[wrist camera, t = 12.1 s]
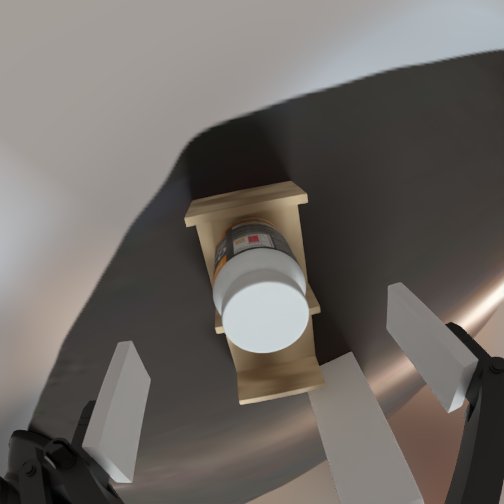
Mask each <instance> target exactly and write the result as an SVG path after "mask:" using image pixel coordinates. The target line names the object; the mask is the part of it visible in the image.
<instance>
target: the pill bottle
mask: <svg viewBox="0 0 504 504" xmlns="http://www.w3.org/2000/svg"><path fill="white" fill-rule="evenodd" d="M305 293H306V282H305V277H304V273H303V271H302V269H301V267H300V265H299V263H298V262H297V260H296V258H295V256H294V254H293V252H292V251H291V249H290V247H289V245H288V243H287V241H286V239H285V237H284V236H283V234H282V233H281V231H280V230H279V229H278V228H277V227H276V226H275V225H273V224H272V223H270V222H269V221H266V220H264V219H260V218H244V219H240V220H238V221H235V222H233V223H232V224H230V225H229V226H228V227H226V228H225V230H224V231H223V232H222V233H221V235H220V236H219V238H218V240H217V243H216V247H215V258H214V277H213V300H214V303H215V306H216V308H217V310H218V312H219V314H220V315H221V318H222V326H223V329H224V332H225V334H226V335H227V337H228V338H229V339H230V340H231V341H232V342H233V343H234V344H235V345H237V346H238V347H240V348H242V349H244V350H247V351H250V352H256V353H270V352H274V351H278V350H281V349H283V348H285V347H287V346H289V345H291V344H292V343H293V342H295V341H296V340H297V339H298V338H299V337H300V336H301V334H302V333H303V332H304V330H305V328H306V326H307V323H308V319H309V307H308V303H307V300H306V298H305Z"/></svg>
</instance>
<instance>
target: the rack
mask: <svg viewBox="0 0 504 504" xmlns="http://www.w3.org/2000/svg"><path fill="white" fill-rule="evenodd" d="M303 203H308V198H307V193H305V192H304V191H303V190H302V189H301V188H299V187H298V186H297V185H296V184H294V183H293V182H292V181H286V182H281V183H275V184H270V185H265V186H259V187H254V188H249V189H244V190H239V191H234V192H229V193H225V194H220V195H215V196H211V197H206V198H201V199H197V200H192V202H191V204H190V207H189V209H188V211H187V213H186V216H185V218H184V219H185V223H186V227H189V226H194V225H196V227H197V231H198V235H199V239H200V243H201V247H202V251H203V255H204V258H205V262H206V266H207V270H208V273H209V277H210V281H211V284H212V288H213V277H214V258H215V247H216V243H217V240H218V238H219V236H220V235H221V233H222V232H223V231H224V230H225V228H226V227H228V226H229V225H230V224H232V223H233V222H235V221H238V220H240V219H244V218H260V219H264V220H266V221H269V222H270V223H272V224H273V225H275V226H276V227H277V228H278V229H279V230H280V231H281V233H282V234H283V236H284V237H285V239H286V241H287V243H288V245H289V247H290V249H291V251H292V252H293V254H294V256H295V258H296V260H297V262H298V263H299V265H300V267H301V269H302V271H303V273H304V277H305V282H306V293H305V298H306V300H307V303H308V307H309V319H308V323H307V326H306V328H305V330H304V332H303V333H302V334H301V336H300V337H299V338H298V339H297V340H296V341H295V342H293V343H292V344H291V345H289V346H287V347H285V348H283V349H281V350H278V351H274V352H270V353H256V352H250V351H247V350H244V349H242V348H240V347H238V346H237V345H235V344H234V343H233V342H232V341H231V340H230V339H229V338H228V337H227V335H226V337H227V341H228V344H229V347H230V351H231V354H232V357H233V361H234V364H235V367H236V370H237V380H238V395H239V402H240V405H242V404H248V403H254V402H259V401H265V400H270V399H275V398H280V397H285V396H290V395H294V394H299V393H303V392H307V391H312V390H316V389H320V388H324V387H326V383H325V380H324V377H323V375H322V372H321V369H320V367H319V364H318V361H317V359H316V356H315V346H314V336H313V326H312V316H311V315H312V314H317V313H320V305H319V303H318V301H317V299H316V297H315V295H314V293H313V291H312V289H311V288H310V286H309V284H308V281H307V272H306V264H305V256H304V249H303V241H302V234H301V226H300V219H299V212H298V206H297V204H303ZM215 329H216V332H217V334H219V333H225V332H224V329H223V326H222V318H221V315H220V314H219V312H218V310H217V308H216V316H215Z"/></svg>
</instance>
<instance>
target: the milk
mask: <svg viewBox="0 0 504 504" xmlns="http://www.w3.org/2000/svg"><path fill="white" fill-rule="evenodd" d="M319 367H320V369H321V372H322V375H323V377H324V380H325V383H326V387H324V388H320V389H316V390H312V391H307V392H308V395H309V399H310V402H311V405H312V409H313V412H314V416H315V419H316V422H317V426H318V429H319V432H320V436H321V439H322V443H323V446H324V449H325V453H326V456H327V460H328V463H329V467H330V470H331V474H332V477H333V480H334V483H335V487H336V491H337V494H338V498H339V501H340V504H424V501H423V498H422V495H421V493H420V491H419V489H418V486H417V484H416V482H415V480H414V478H413V475H412V473H411V471H410V469H409V467H408V464H407V462H406V460H405V458H404V456H403V454H402V451H401V449H400V447H399V445H398V443H397V441H396V439H395V437H394V435H393V433H392V431H391V428H390V426H389V424H388V422H387V420H386V418H385V416H384V414H383V412H382V410H381V408H380V406H379V404H378V402H377V400H376V398H375V396H374V394H373V392H372V390H371V388H370V386H369V384H368V382H367V380H366V378H365V376H364V374H363V372H362V370H361V368H360V366H359V364H358V362H357V361H356V359H355V357H354V355H353V353H352V352H349V353H347V354H344V355H342V356H340V357H338V358H336V359H334V360H332V361H330V362H327V363H325V364H323V365H321V366H319Z"/></svg>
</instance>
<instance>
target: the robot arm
mask: <svg viewBox="0 0 504 504" xmlns="http://www.w3.org/2000/svg"><path fill="white" fill-rule="evenodd" d="M386 329H387V330H388V332H389V333H390V334H391V336H392V337H393V338H394V340H395V341H396V342H397V344H398V345H399V346H400V348H401V349H402V350H403V352H404V353H405V354H406V356H407V357H408V358H409V360H410V361H411V362H412V364H413V365H414V366H415V368H416V369H417V370H418V372H419V373H420V375H421V376H422V377H423V379H424V380H425V382H426V383H427V384H428V386H429V387H430V389H431V390H432V391H433V393H434V394H435V396H436V397H437V398H438V400H439V401H440V403H441V404H442V406H443V407H444V408H445V410H446V411H447V413H449V412H451V411H453V410H455V409H457V408H459V407H461V406H462V404H463V402H464V399H465V397H466V398H467V400H468V401H469V402H470V403H469V405H468V407H467V410H466V412H465V414H464V417H463V418H465V417H466V420H465V426H464V431H463V437H462V441H461V446H460V450H459V454H458V459H457V463H456V467H455V471H454V474H453V478H452V481H451V485H450V488H449V491H448V494H447V497H446V501H445V504H499V500H500V495H501V491H502V486H503V480H504V359H503V358H501V357H491V356H490V355H489V354H488V353H487V352H486V351H485V350H484V349H483V348H482V347H481V346H480V345H479V344H478V343H477V342H476V341H475V340H474V339H472V337H471V336H470V335H469V334H467V332H466V331H465V330H464V329H463V328H462V327H461V326H459V325H457V324H454V323H452V322H450V323H447V324H444V323H443V322H442V321H441V320H440V319H439V318H438V317H437V316H436V315H435V314H434V313H433V312H431V311H430V310H429V309H428V308H427V307H426V306H425V305H424V304H423V303H422V302H421V301H420V300H419V299H418V298H417V297H416V296H415V295H414V294H413V293H412V292H411V291H410V290H409V289H408V288H406V287H405V286H404V285H403V284H402V283H401V282H400V283H396V284H393V285H389V286H388V307H387V327H386ZM150 381H151V379H150V377H149V375H148V373H147V371H146V369H145V367H144V365H143V363H142V361H141V359H140V357H139V355H138V353H137V351H136V349H135V347H134V345H133V343H132V341H126V342H119V343H118V345H117V347H116V350H115V353H114V355H113V358H112V360H111V363H110V366H109V368H108V371H107V373H106V376H105V379H104V382H103V384H102V387H101V390H100V393H99V396H98V398H97V401H89V402H88V404H87V405H86V406H85V407H84V409H83V411H82V414H81V417H80V418H81V419H79V422H78V426H77V428H76V431H75V434H74V437H73V440H72V443H71V445H70V443H69V442H68V441H67V440H66V439H64V438H55V439H53V440H49V439H47V438H45V437H43V436H41V435H38V434H36V433H33V432H30V431H25V430H16V431H14V432H13V434H12V436H11V438H10V440H9V454H8V469H7V473H6V475H5V477H4V479H3V478H2V477H0V504H124V503H123V501H122V500H121V498H120V497H119V496H118V494H117V493H116V491H115V490H114V489H113V487H112V486H111V485H110V484H109V483H108V482H109V477H111V478H112V479H114V480H115V481H116V482H123V483H132V481H133V474H134V467H135V461H136V455H137V449H138V443H139V437H140V432H141V426H142V421H143V416H144V410H145V405H146V400H147V395H148V390H149V386H150Z"/></svg>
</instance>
